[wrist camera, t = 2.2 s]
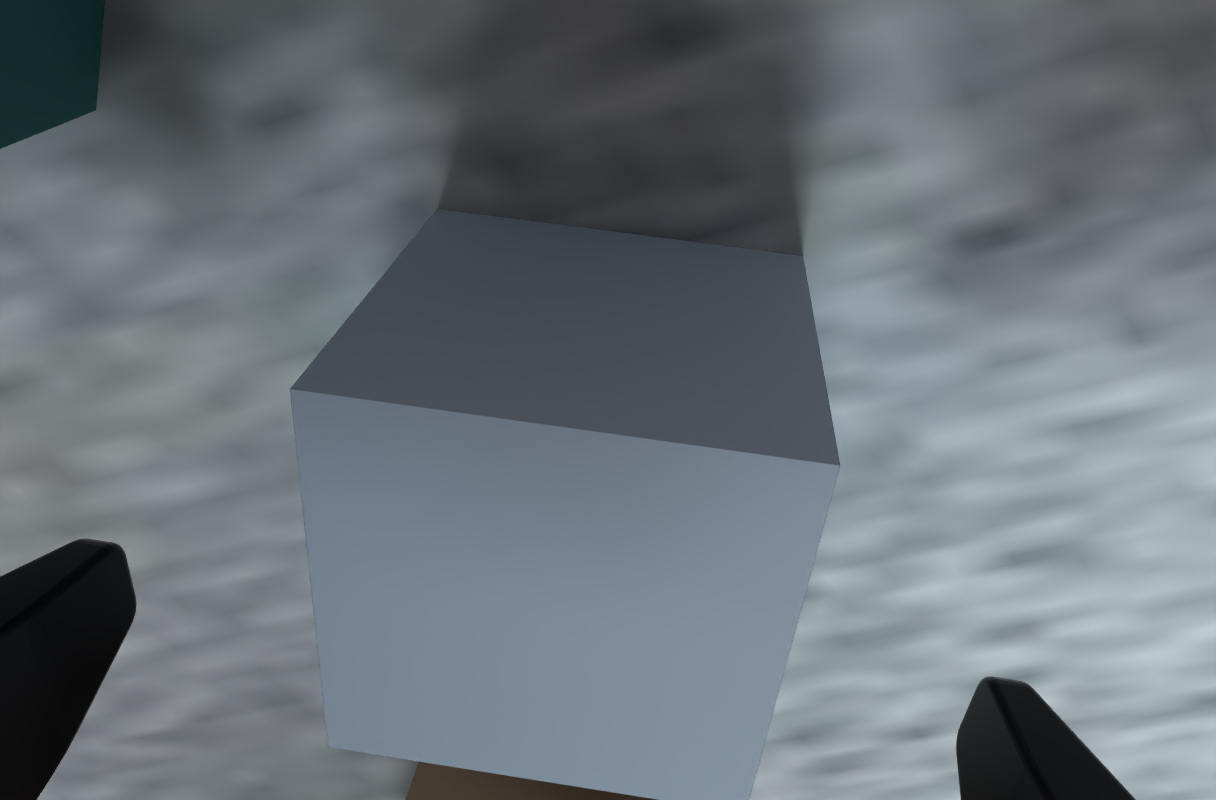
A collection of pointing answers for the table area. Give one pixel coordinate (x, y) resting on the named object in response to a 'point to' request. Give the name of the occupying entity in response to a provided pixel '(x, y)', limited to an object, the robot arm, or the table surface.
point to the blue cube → (565, 504)
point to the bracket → (47, 64)
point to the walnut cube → (495, 787)
